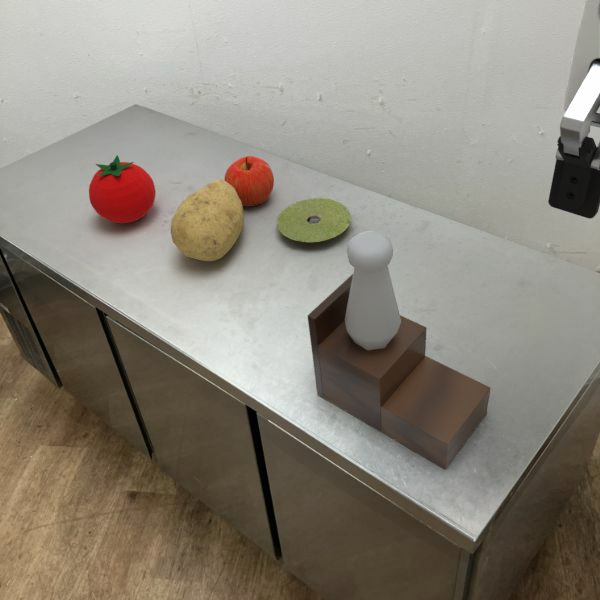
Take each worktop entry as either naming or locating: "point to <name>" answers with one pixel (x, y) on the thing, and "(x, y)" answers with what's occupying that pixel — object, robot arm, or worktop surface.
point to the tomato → (121, 191)
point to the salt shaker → (371, 292)
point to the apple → (250, 180)
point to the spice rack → (395, 383)
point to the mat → (314, 220)
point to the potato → (208, 222)
